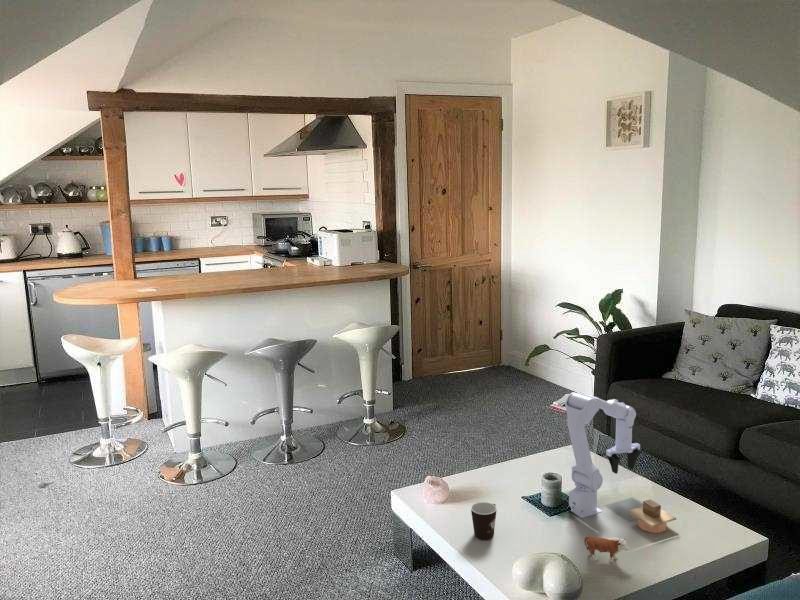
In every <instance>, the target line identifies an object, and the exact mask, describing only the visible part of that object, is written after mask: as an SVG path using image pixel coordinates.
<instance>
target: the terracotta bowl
mask: <svg viewBox="0 0 800 600" xmlns="http://www.w3.org/2000/svg"><path fill="white" fill-rule="evenodd" d="M667 523H668V522H667ZM667 523H663V524H660V525H657V526H653V527H650V526H648V525H647V524H645V523H643V522H642V521H640V520H639V519H637V527H638V528H639V529H641V530H643V531H645V532H648V533H652V534H660V533H663V532H665V531H667Z"/></svg>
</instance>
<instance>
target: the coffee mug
mask: <svg viewBox="0 0 800 600" xmlns="http://www.w3.org/2000/svg"><path fill="white" fill-rule="evenodd" d="M497 510H498V508H497V505H496V504H495V503H492V502H488V501H478V502H476V503H473V504H472V505H471V506H470V512H471V519H472V520H471V521H472V525H473V526H472V527H473V534H474V537H475V538H476V539H477V540H479V541H489V540H492V539H493V538H494V534H495V528H496V527H495V525H496V516H497Z"/></svg>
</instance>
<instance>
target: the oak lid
mask: <svg viewBox="0 0 800 600" xmlns="http://www.w3.org/2000/svg"><path fill="white" fill-rule="evenodd" d="M642 502H643V503H642V504H643V507H639V508H635V509H632V510H628V512H627V513H629V514H631V515H632V516H634V517H635V518H637V519H636V520H638V519H639V520H640V521H642V522H643V523H645V524H647V525H648V526H650V527H653V526H657V525H660V524H663V523H670V522H672V521H673V522H674V521H675V520H677V517H675V515H673V514H670V513H669V512H667V511H666V510H663V509H662V505H661V504H660V503H658V502H656V501H654V500H652V498H651V499H646V500H643V501H642Z"/></svg>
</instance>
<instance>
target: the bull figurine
mask: <svg viewBox="0 0 800 600" xmlns="http://www.w3.org/2000/svg"><path fill="white" fill-rule="evenodd" d="M583 543H584V546H585V547H586V551H587V554H588V556H590V557H592V559H593V560H595V561H596V562H598V561H599V559H598V558H597V557H596V556H597V555H595V552H596V551H598V552H599V553H600V554H603V553H609V559H608V562H609V563H610V564H611V563H612V564H613V563H614V561H613V560H612V559H614V560H615V561H616V560H618V557H617V556H616V554H618V553H620V552H621V551H629V550H630V547H629V546H628V543H627V541H626V537H624V538H619V537H600V536H599V537H598V536H592V535H591V536H589V535H588V536H585V538H584V542H583Z"/></svg>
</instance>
